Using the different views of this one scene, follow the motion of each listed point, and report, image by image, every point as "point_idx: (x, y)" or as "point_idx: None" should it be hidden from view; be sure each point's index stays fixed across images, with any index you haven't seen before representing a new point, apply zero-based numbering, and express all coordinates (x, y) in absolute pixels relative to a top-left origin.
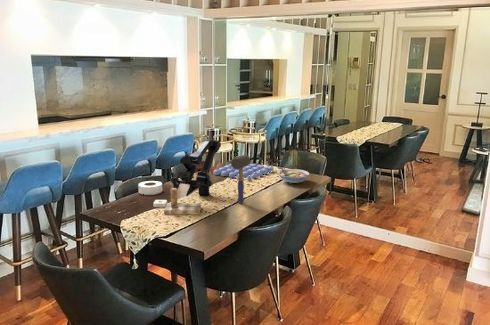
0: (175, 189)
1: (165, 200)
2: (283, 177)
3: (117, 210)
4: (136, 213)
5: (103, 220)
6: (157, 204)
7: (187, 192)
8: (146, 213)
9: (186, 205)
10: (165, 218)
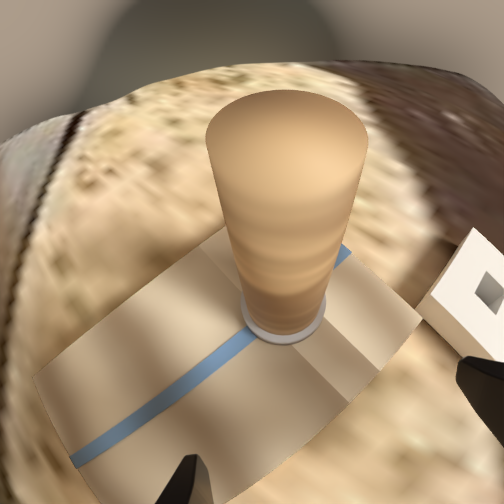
0: (221, 132)
1: (495, 346)
2: None
3: (477, 126)
4: (404, 137)
5: (387, 64)
6: (456, 252)
7: (175, 497)
8: (374, 160)
9: (203, 421)
10: (203, 182)
